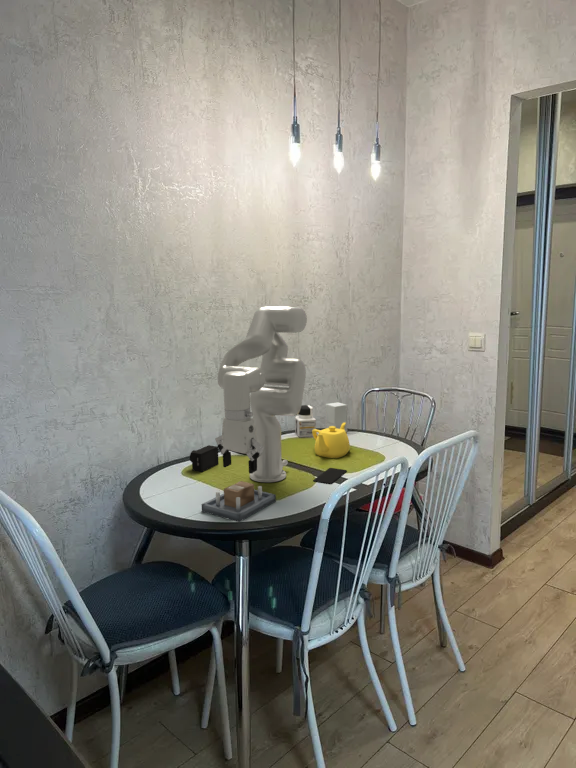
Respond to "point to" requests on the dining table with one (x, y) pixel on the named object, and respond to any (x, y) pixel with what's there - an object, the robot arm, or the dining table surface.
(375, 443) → the dining table surface
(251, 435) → the robot arm
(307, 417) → the container
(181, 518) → the dining table surface
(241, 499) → the labeled cardboard box
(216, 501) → the tray
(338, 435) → the teapot
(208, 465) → the digital camera
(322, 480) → the smartphone
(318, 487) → the dining table surface
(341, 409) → the supplement box
